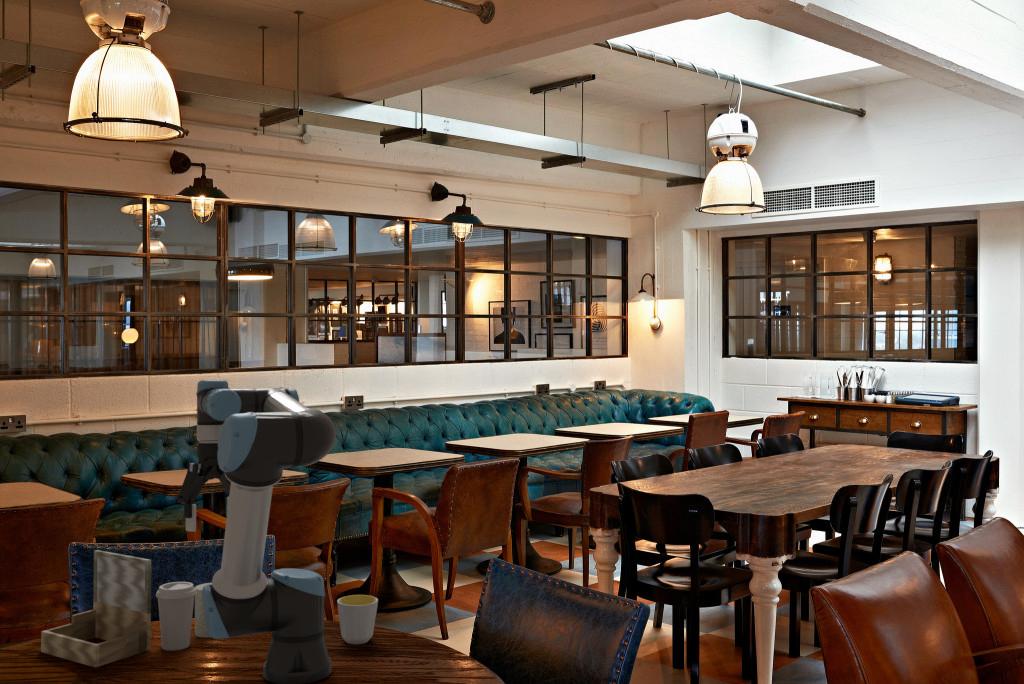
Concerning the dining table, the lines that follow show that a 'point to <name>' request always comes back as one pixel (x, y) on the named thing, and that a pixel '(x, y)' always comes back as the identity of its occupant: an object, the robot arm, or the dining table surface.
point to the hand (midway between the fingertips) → (211, 526)
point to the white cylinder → (200, 613)
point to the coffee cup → (175, 614)
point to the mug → (357, 617)
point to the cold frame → (108, 614)
